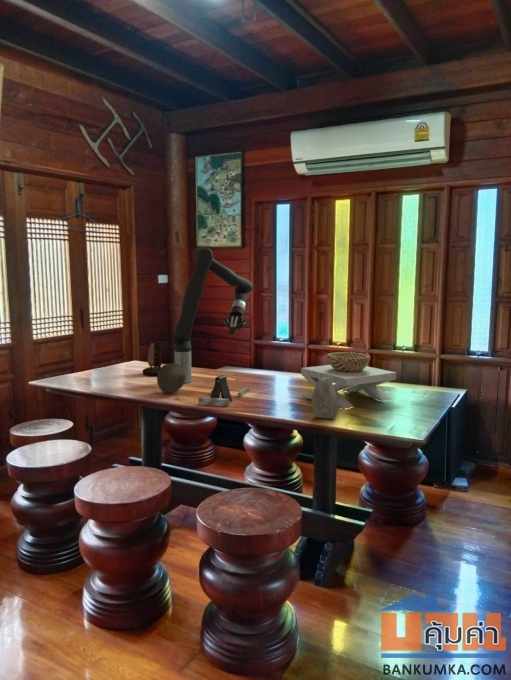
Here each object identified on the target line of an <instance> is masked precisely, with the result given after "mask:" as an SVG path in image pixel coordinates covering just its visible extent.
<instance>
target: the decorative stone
mask: <svg viewBox="0 0 511 680" xmlns="http://www.w3.org/2000/svg"><path fill="white" fill-rule="evenodd" d="M333 385H334V383H332V381H331V380H330V379H329V378H326V377H323V378H321V379H319V380H318V382H317V384H316V386H315V387H314V389H313V396H312V399H311V406H312V414H313V416H314V417H315V418H317V419H325V420H326V419H327V420H334V419H335V418H336V417H337V412H338V409H339V408H338V396H337V393H336V391H335V388H334V386H333Z"/></svg>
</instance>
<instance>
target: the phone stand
mask: <svg viewBox="0 0 511 680" xmlns="http://www.w3.org/2000/svg"><path fill="white" fill-rule="evenodd" d="M227 379H228V378H227V376H226V375H225V374H222V375H219V376H216V377H215V378H214V386H213V389H212V390H213V391H212V394H211V393H210V397H209V398H221V399H229V403H230V402H232V401H233V397H232V395H231V391H230V388H229V385H228V381H227ZM220 396H221V397H220Z"/></svg>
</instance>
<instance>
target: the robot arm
mask: <svg viewBox="0 0 511 680" xmlns="http://www.w3.org/2000/svg"><path fill="white" fill-rule="evenodd" d="M192 259H193V261H194V262H195V263H196V265H195V268H194V272H193V274H192V276H191V278H190V279H189V280H188V282H187V283H186V287H185V291H184V293H183V300H182V305H181V306H182V307H181V312H180V313H181V314H180V317H179V320H178V322H177V323H176V324H175V325H174V327H173V347H174V351H173V352H174V353H173V354H174V355H173V356H174V363H175V364H178V365H179V366H181V367H182V368H183V370H184V372H185V375H186V379H185V383H184V384H189V383H192V343H191V335H192V332H193V327H194V326H193V325H194V320H195V317H196V313H197V310H198V307H199V305H200V301H201V299H202V295H203V291H204V287H205V284H206V280H207V276H208V274H209V271H210V272H212V273H214V274H215V275H216V276H217V277H219V278H220V279H221V280H222V281H224V282H225V283H226V284H227V285H229V286H230V287H235V288H234V300H233V303H232V305H231V309H230V313H229V316H228V317H227V318H223V322H224V325H225V326H226V327H227V329H229V334H230V336H234V335H235V334H236V330H239V329H241V328H243V326H245V325H246V324H247V321H246V319H244V317H245V316H244V315H245V311H246V307H247V303H248V302H247V301H248V296H247V294H248V293H251V292H252V291H253V288H254V287H253V283H252V282H251V281H250V280H248V279H246V278H244V277H242V276H239V275H238V274H237V273H235V272H234V271H233V270H232V269H230V268H228V267H227V266H225V265H224V264H222V263H220V262H219V261H218V260H217V259H214V252H213V251H212V249H210V248H209V247H203V246H202V247H201V246H200V247H197V248H195V249H194V250H193V252H192Z"/></svg>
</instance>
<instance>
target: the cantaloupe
mask: <svg viewBox="0 0 511 680" xmlns="http://www.w3.org/2000/svg"><path fill="white" fill-rule="evenodd" d="M156 376H157V377H156V383H157V386H158V388H159V389H160V390H161V392H162V393H165V394H174V393H176V392H178V391H179V390H181V389H182V388H183V386H184V385H185V384H186V383H185V379H186V375H185V372H184V370H183V368H182V367H181V366H179V365H178V364H175V362H172V363H171V362H169V363H165V364H164V365H161V369H160V370H159V372H158V374H156Z"/></svg>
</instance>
